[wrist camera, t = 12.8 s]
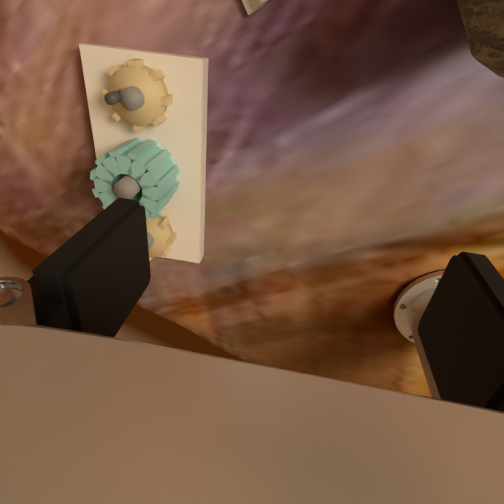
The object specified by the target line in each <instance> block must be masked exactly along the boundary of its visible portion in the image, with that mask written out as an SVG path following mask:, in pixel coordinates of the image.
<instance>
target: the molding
mask: <svg viewBox="0 0 504 504" xmlns="http://www.w3.org/2000/svg"><path fill="white" fill-rule="evenodd" d="M268 1H269V0H242V2H243V5H244V7H245V9H246V11H247V14H248V15H250V14H252V13H253V12H255V11H257V10H258V9H260V8H261V7H263V6H264V5H265V3H266V2H268Z"/></svg>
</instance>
